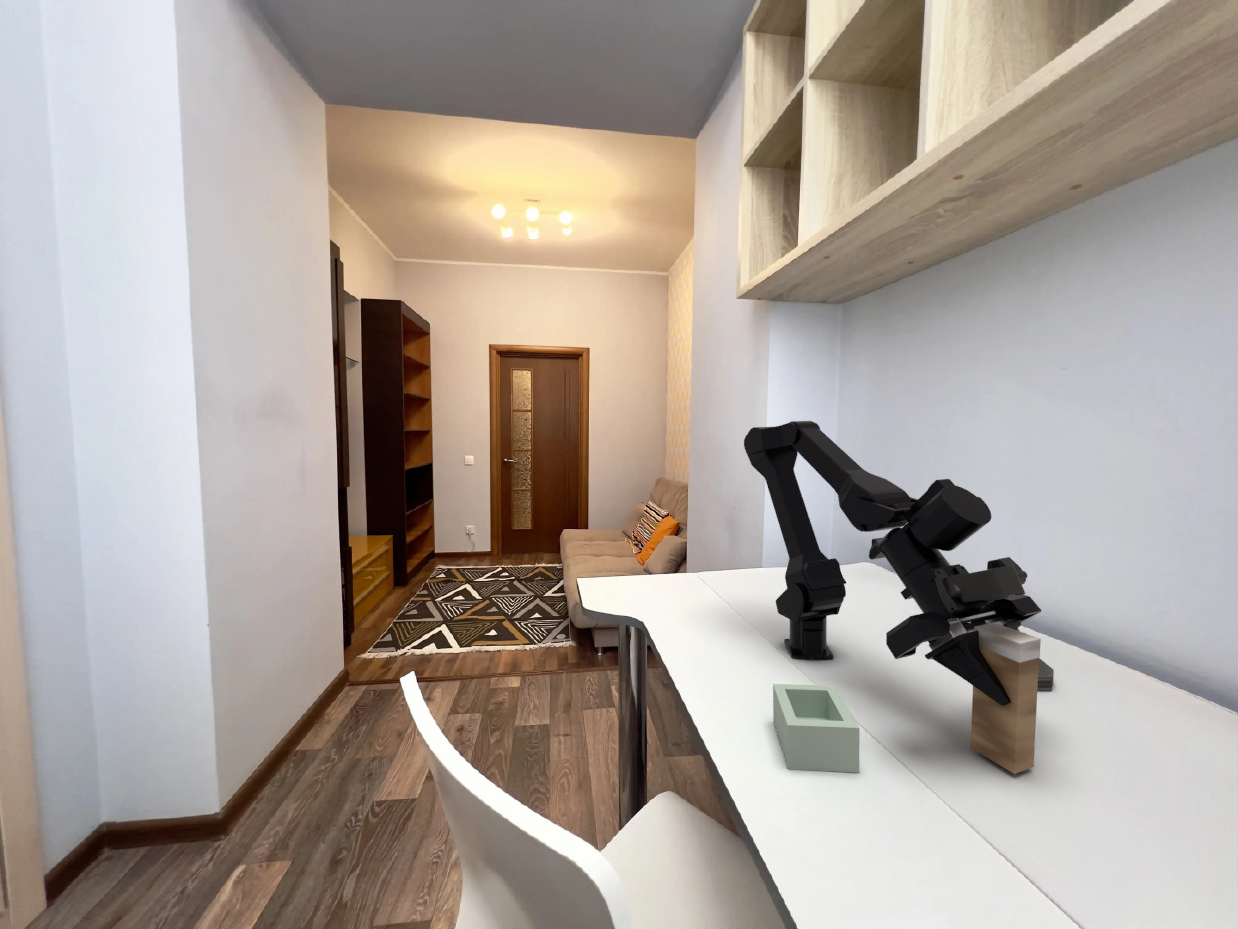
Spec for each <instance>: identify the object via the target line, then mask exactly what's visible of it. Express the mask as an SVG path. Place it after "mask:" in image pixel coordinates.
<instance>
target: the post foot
mask: <svg viewBox="0 0 1238 929" xmlns="http://www.w3.org/2000/svg"><path fill="white" fill-rule="evenodd" d="M772 695H773V696H772V697H773V698H772V708H773V709H772V710H773V712H772V714H773V715H772V719H773V725H774V729H775V731H776V734H777V739H778V741H779V744H780V748H781V751H782V754H783V757H784V761H785V764H786V768H787V770H797V771H799V770H800V771H817V772H833V773H834V772H838V773H860V726H859V725H858V723H857V721H856V720H855V718H854V717H853V715H852V713H851V711H850V709H849V708H848V706H847V704H846V702H845V701H844V699H843V697H842V696H841V694H840V692H839V691H838V689H837V687H836V686H835V685H827V684H826V685H821V684H795V683H794V684H792V683H791V684H790V683H786V684H785V683H772Z"/></svg>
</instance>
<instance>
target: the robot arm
mask: <svg viewBox="0 0 1238 929" xmlns="http://www.w3.org/2000/svg"><path fill="white" fill-rule="evenodd" d="M743 447H744V451H745V454H746V455H747V458H748V460H749V463H750V465H751V466H752V467H753V468H754V470H756V472H758V473H759V474H760V475H761V476H762V477H763V478H764V480H765V482H766V487H767V489H768V492H769V495H770V496H769V497H770V499H771V502H772V505H773V508H774V509H773V510H774V512H775V515H776V519H777V522H778V524H779V528H780V532H781V535H782V538H783V541H784V545H785V549H786V552H787V555H788V563H787V567H786V569H785V570H786V571H785V575H784V577H785V584H786V589H785V590H784V591H782V593H781V594H780V595H779V596H778V597H777V599H776V600H775V605H776V609H777V613H778V614H779V615H780V616H782V617H785V618H787V619H789V638H784V640H783V642H784V644H785V646H786V649H787V650H788V653H789V655H790V657H791V658H793V659H813V660H814V659H821V660H822V659H824V660H833V659H834V658H835V657H834V654H833V652H832V651H831V649H830V648H829V646H828V645H827V638H828V637H827V634H828V633H827V630H828V628H827V617H828V616H833V615H838V614H839V613H840V609H841V607H842V604H843V602H844V599H845V597H847V594H846V593H847V590H846V586H845V585H847V581H846V579H845V578H844V575H843V574H842V571H841V565H840V562H839V561H838V559H837V558H829V557H827V556H826V555H825V554H824V553H823V552H822V551H821V549H820V547H819V543H818V540H817V537H816V534H815V530H814V528H813V525H812V522H811V519H810V517H809V513H808V511H807V507H806V503H805V500H804V498H803V495H802V492H801V489H800V486H799V485H800V484H799V482H798V480H797V477H796V473H795V465H796V462H797V460H798V459H797V458H798V455H800V457H802V458H803V459H804V460H805V461H806V463H808V464H809V465H810V467H812V468H813V469H814V471H816V473H817V474H819V475H820V477H821V478H822V479H823V480H824V481H825V482H826V483H827V484H829V486H830V487H831V488H832V489H833V490H834V492H835V493H836V494H837V498H838V506H839V507H840V509H841V511H842V513H843V514H844V515H845V516H846V519H847V520H848V521H849V522H850V524H851V525H852V526H853V528H855V529H856V530H857V531H860V532H863V533H864V532H865V533H866V532H867V533H869V532H877V531H885V530H886V531H887V530H889V531H888V532H887V533H886V534H885V535H884V536H883V537H876V538H872V539H871V547H870V549H869V551H868V558H869V560H877V559H885V560H886V561H887V562H888V563H889V565H890V566H891V568H892V569H893V570H894V572H895V574H896V575H897V576H898V578H899V580H900V581H901V582H902V584H903V585H904V587H905V588H904V589H903V590H901V591H900V594H901V596H902V598H904V600H911V599H913V600H914V602H915V603H916V605H917V606H918V607H919V609H920V611H921V612H922V613H918V614H914V615H910V616H909V617H907V618H905V619H904V620H903V621H901V622H900V623H899V624H897V625H896V626H894V627H893V628H891V629H890V630H889V631H887V632H886V634H885V635H886V637H885V644H886V646H887V648H888V649H889V651H890V652H891V655H892V656H893V657H894V659H895V660H899V659H902V658H907V657H911V656H914V655H916V654H917V647H919V646H920V645H921V644H923V643H928V646H929V648H930V650H931V651H929V652H927V653H926V654H924V657H925V659H927V660H928V661H929V660H933V661H935V662H937V663H938V664H940V665H941V666H943V667H945V668H946V669H948V670H949V671H951V672H952V673H954V674H955V675H957V676H958V677H960V678H961V679H963V680H964V681H965V682H967V683H968V684H970V685H971V686H972V687H973V686H974V687H976V688H977V689H979V690H980V691H981V692H983V693H984V694H986V695H987V696H988V697H990V698H991V699H993V700H994V701H995V702H997V703H998V704H1000V705H1001V706H1005V705H1007V704H1010V703H1011V700H1010V698H1009V696H1008V695H1007V693H1006V691H1005V689H1004V687H1003V686H1002V684H1001V682H1000V681H999V679H998V678H997V676H996V675H995V673H994V672H993V670H992V669H991V667H990V665H989V664H988V662H987V661H986V659H985V658H984V656H983V655H982V653H981V651H980V649H979V632H978V630H976V631H974V627H975V626H980V625H984V624H989V623H997V624H1000V625H1003V626H1005V627H1008V628H1011V629H1014V630H1017V628H1018V629H1019V628H1020V627H1021V626H1022V623H1025V621H1027V620H1029V619H1031V618H1032V617H1035V616H1036V615H1038V614H1040V613H1041V612H1042V609H1041V608H1040V607H1039V606H1038V604H1037V603H1036V602H1035V601H1034V600H1033V598H1032V597H1031V596H1029V595H1026V591H1025V589H1024V587H1023V585H1025V584H1026V582H1027V579H1028V574H1027V572H1026V571H1025V570H1023V569H1022V568H1021V567H1020V565H1019V564H1018V563H1016V561H1014V560H1013V559H1012V558H1011V557H1009V556H1007V557H1002V558H997V559H993V560H988V562H987V566H986V567H987V568H986V569H984V570H978V571H974V572H969V571H968V569H966V567H964V565H961V564H959V563H957V564H952V565H951V564H950V562H949V561H948V560H947V558H945V556H944V555H943V554H942V552H941V551H943V552H944V551H945V552H951V551H953V550H955V549H956V548H958V547H959V546H960V545H961V544H963V543H964V542H966V541H967V540H968V539H969V538H970V537H972V536H973V535H974V534H976V533H977V532H978V531H980V530H981V529H982V528H983V527H985V526H986V525H988V523H990V522H991V521H992V512H991V510H990V507H989V506H988V504H987V503H986V502H985V500H984V499H983V498H981V497H980V496H977V495H976V494H974V493H972V492H971V491H970V490H968V489H966V488H963V487H961V486H959V485H955V483H954V482H953V481H952V479H950V478H944V479H943V478H942V479H936V480H934V482H932V483H931V484H930V485H929V486H928V489H927V490H926V491H925V492H924V493H923V494H922V495H921V496H920V497H918V498H916V497H911V496H910V495H909V494H908V493H907V491H905V490H904V489H903V488H901V487H900V486H898V485H897V484H895V483H893V482H891V481H890V480H889V479H887V478H884V477H882V476H878V475H876V474H873V473H870V472H869V471H867V470H865V469H864V468H863V467H862V466H860V464H858V463H857V462H856V461H855V460H854V459H853V458H852V457H851V456H849V455H848V454H847V453H846V452H845V451H844V450H843V449H842V448H841V447H840V446H838V444H836V443H835V442H834V441H833V440H832V439H831V438H830V437H829V436H827V434H825V433H824V431H822V430H821V427H820V426H819V424H818V423H817V422H814V421H813V420H793V421H789V422H788V423H787V422H786V423H785V424H781V425H776V426H757V427H752V428H750V429H749V431H748V432H747V434H746V435H745V437H744V440H743ZM983 606H984V607H983ZM982 607H983V608H982Z"/></svg>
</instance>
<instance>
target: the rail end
mask: <svg viewBox="0 0 1238 929" xmlns="http://www.w3.org/2000/svg"><path fill="white" fill-rule="evenodd" d="M976 630H978V632H979V649H980V651H981V653H982V655H983V656H984V658H985V659H986V661H987V662H988V664H989V665H990V667H991V669H992V670H993V672H994V673H995V675H996V676H997V678H998V679H999V681H1000V682H1001V684H1002V686H1003V687H1004V689H1005V691H1006V693H1007V695H1008V696H1009V698H1010V700H1011V703H1010V704H1007V705H1005V706H1001V705H1000V704H998V703H997V702H995V701H994V700H993V699H991V698H990V697H988V696H987V695H986V694H984V693H983V692H981V691H980V690H979V689H977V688H976V687H974V686H973V685H972V700H971V702H972V703H971V704H972V706H971V729H970V731H971V733H970V749H972V750H973V751H975V752H977V753H979V754H980V755H982V756H984V757H985V758H987V759H989V760H991V761H993V762H994V763H995V764H997V765H999V766H1000V767H1002V768H1004V769H1005V770H1007V771H1009V772H1010V773H1012V774H1014V775H1016V774H1018V773H1021V772H1024V771H1026V770H1029V769H1032V768H1034V767H1035V766H1034V765H1035V749H1036V748H1035V746H1036V745H1035V744H1036V727H1037V726H1036V725H1037V724H1036V723H1037V707H1038V706H1037V705H1038V692H1037V687H1038V667H1039V658H1040V657H1041V642H1042V641H1041V638H1040V637H1037V636H1034V635H1031V634H1028V633H1025V632H1022V631H1020V630H1019V631H1017V630H1014V629H1011V628H1008V627H1005V626H1003V625H1000V624H997V623H989V624H984V625H980V626H975V627H974V631H976ZM1040 659H1041V658H1040Z"/></svg>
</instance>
